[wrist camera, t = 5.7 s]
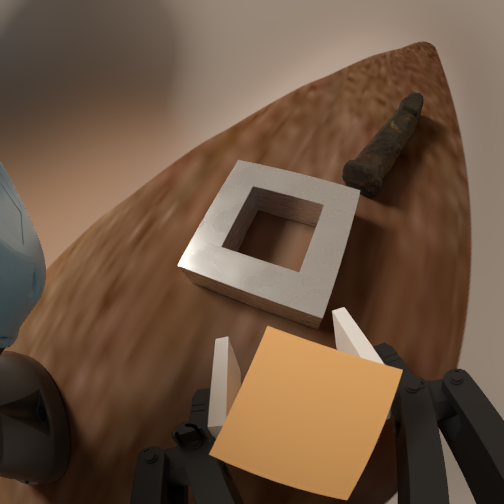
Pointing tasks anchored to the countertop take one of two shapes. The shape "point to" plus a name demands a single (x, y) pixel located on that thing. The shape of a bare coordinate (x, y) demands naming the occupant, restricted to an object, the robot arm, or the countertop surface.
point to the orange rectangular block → (307, 415)
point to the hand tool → (383, 148)
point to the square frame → (260, 272)
